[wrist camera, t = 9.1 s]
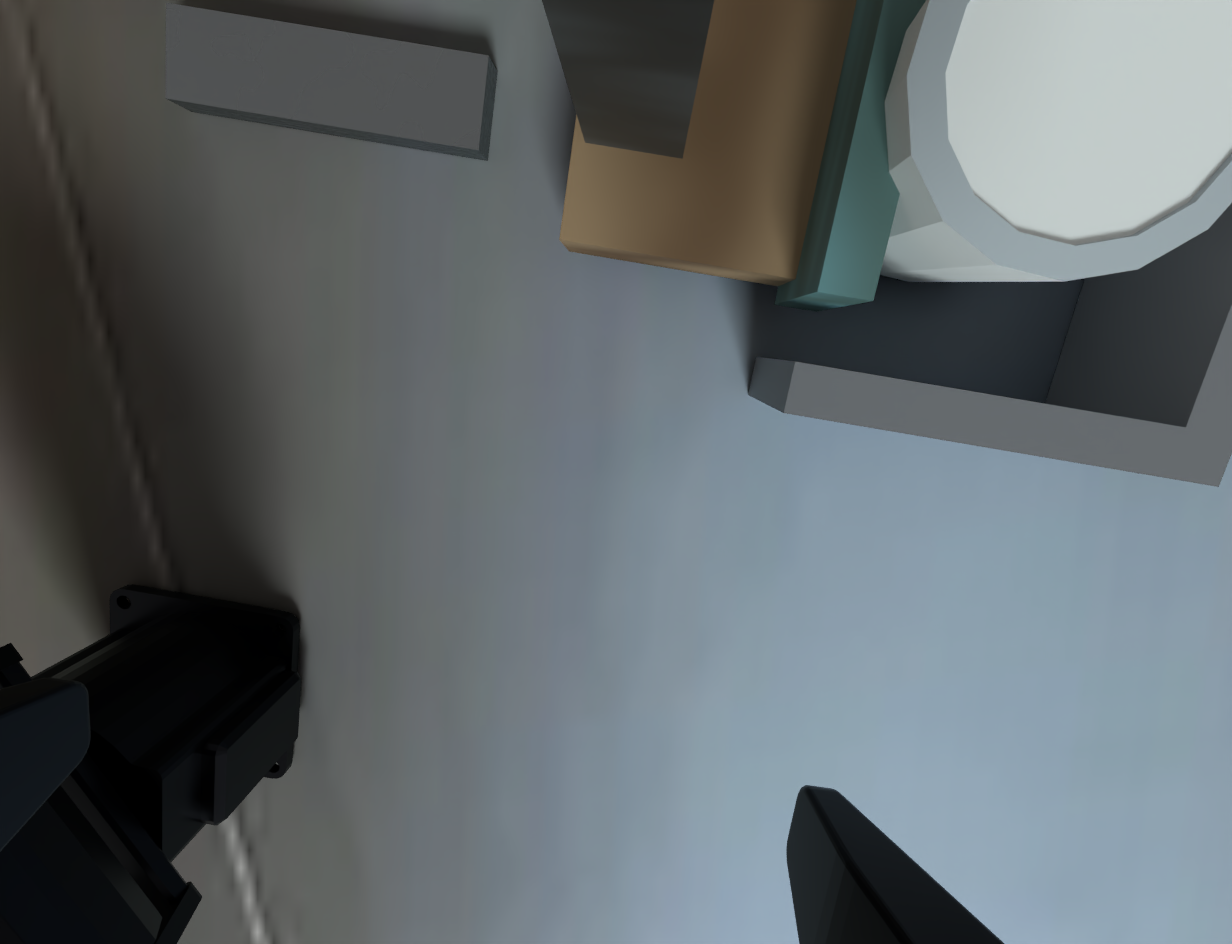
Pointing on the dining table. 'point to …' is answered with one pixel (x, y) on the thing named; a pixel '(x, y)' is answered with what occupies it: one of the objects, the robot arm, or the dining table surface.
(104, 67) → the dining table surface
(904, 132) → the white cylinder
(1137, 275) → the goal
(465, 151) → the rail
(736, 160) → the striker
